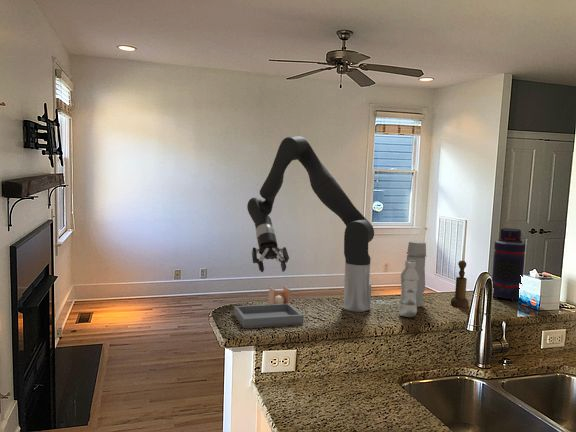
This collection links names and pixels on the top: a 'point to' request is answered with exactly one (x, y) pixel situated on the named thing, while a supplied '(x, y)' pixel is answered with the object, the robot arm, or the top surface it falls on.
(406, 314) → the plastic bottle
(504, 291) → the striped lidded canister
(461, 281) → the wooden pepper mill
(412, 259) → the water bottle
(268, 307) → the tray
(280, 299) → the ball
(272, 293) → the scoop cup
